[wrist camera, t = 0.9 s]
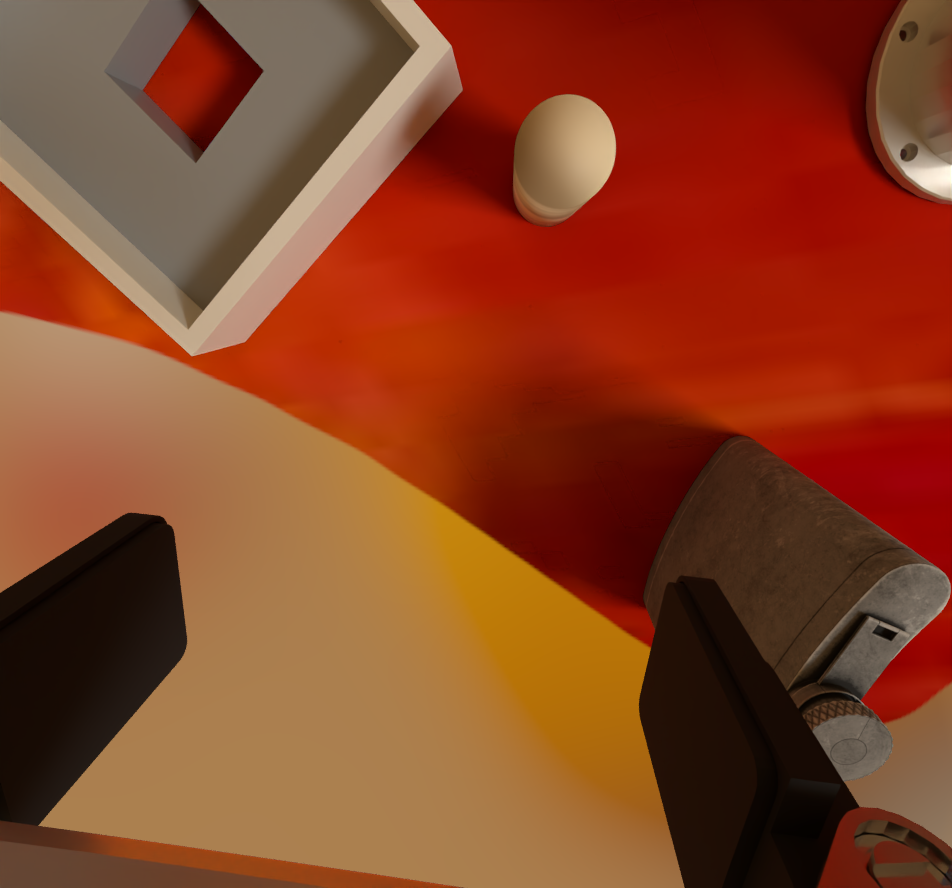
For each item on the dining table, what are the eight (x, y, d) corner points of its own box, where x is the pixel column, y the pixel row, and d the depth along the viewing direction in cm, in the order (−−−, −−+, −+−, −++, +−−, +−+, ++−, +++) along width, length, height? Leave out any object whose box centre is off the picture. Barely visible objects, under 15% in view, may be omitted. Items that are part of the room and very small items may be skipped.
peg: (550, 134, 29) (569, 68, 20) (597, 189, 30) (636, 153, 21) (498, 189, 30) (493, 152, 21) (544, 241, 31) (559, 229, 22)
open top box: (173, -251, 25) (75, -401, 20) (462, 89, 29) (451, 45, 23) (-22, 90, 31) (-144, 49, 25) (244, 342, 34) (192, 356, 29)
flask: (626, 601, 39) (718, 864, 22) (716, 425, 34) (923, 581, 17) (672, 617, 39) (799, 889, 22) (768, 444, 34) (1025, 616, 17)
